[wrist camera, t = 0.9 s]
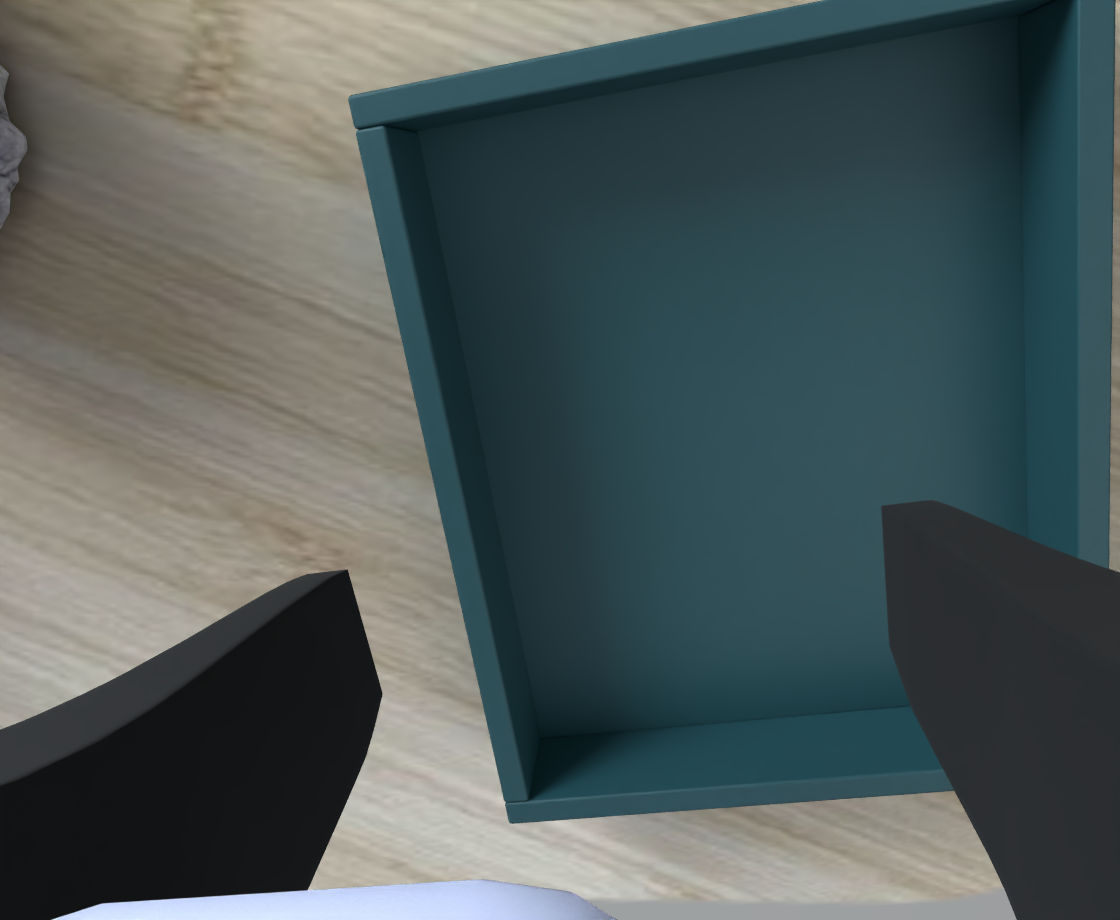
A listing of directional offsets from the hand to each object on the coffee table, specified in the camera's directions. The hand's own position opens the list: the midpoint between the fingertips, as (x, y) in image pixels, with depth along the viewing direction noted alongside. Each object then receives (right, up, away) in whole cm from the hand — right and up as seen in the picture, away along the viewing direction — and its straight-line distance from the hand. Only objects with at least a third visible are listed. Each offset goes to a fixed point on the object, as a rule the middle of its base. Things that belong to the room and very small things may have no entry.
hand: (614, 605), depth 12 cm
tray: (+3, +3, +9) cm, 10 cm away
